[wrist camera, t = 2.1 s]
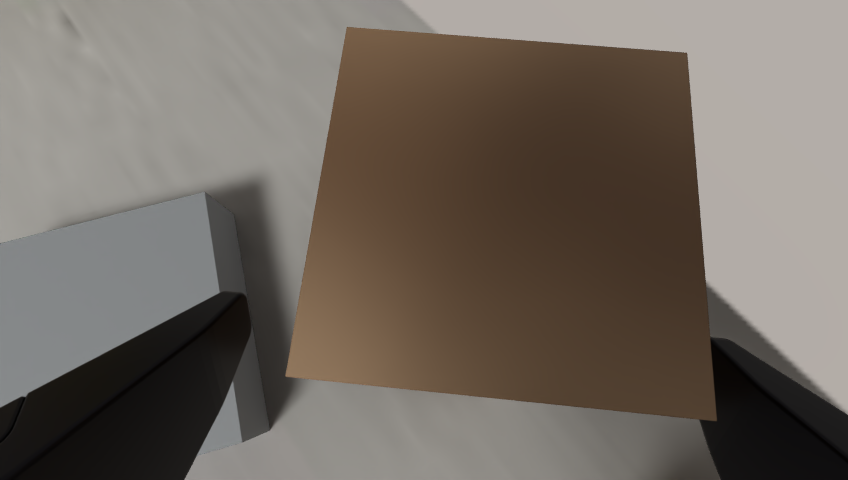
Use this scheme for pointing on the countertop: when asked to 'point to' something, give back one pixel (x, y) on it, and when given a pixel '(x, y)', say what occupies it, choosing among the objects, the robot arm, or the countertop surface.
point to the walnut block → (509, 226)
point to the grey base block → (122, 297)
